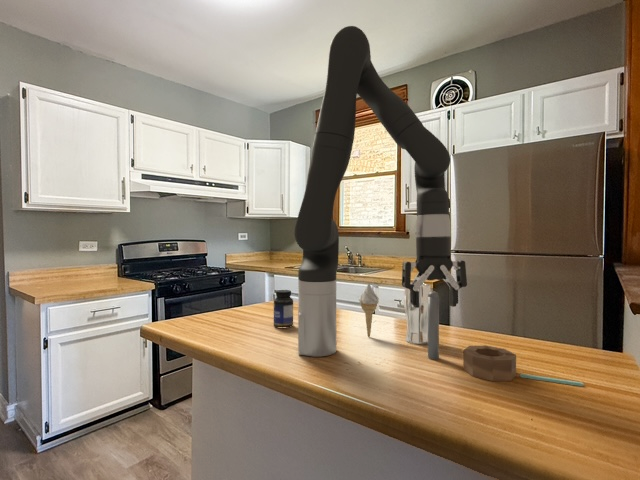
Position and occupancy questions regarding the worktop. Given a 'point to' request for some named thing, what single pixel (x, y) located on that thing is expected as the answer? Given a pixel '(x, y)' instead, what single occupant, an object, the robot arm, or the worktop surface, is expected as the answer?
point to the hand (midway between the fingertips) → (434, 306)
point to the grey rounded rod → (433, 325)
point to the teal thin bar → (551, 379)
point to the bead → (489, 363)
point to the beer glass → (417, 316)
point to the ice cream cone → (368, 305)
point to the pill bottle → (283, 309)
